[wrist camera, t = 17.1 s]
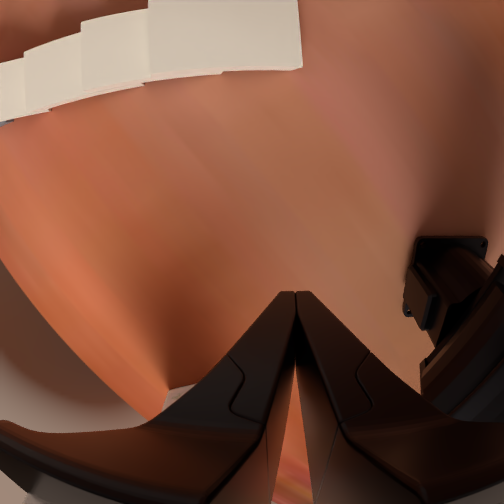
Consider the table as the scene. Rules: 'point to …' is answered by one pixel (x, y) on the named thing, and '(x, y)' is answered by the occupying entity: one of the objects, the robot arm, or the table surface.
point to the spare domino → (13, 90)
